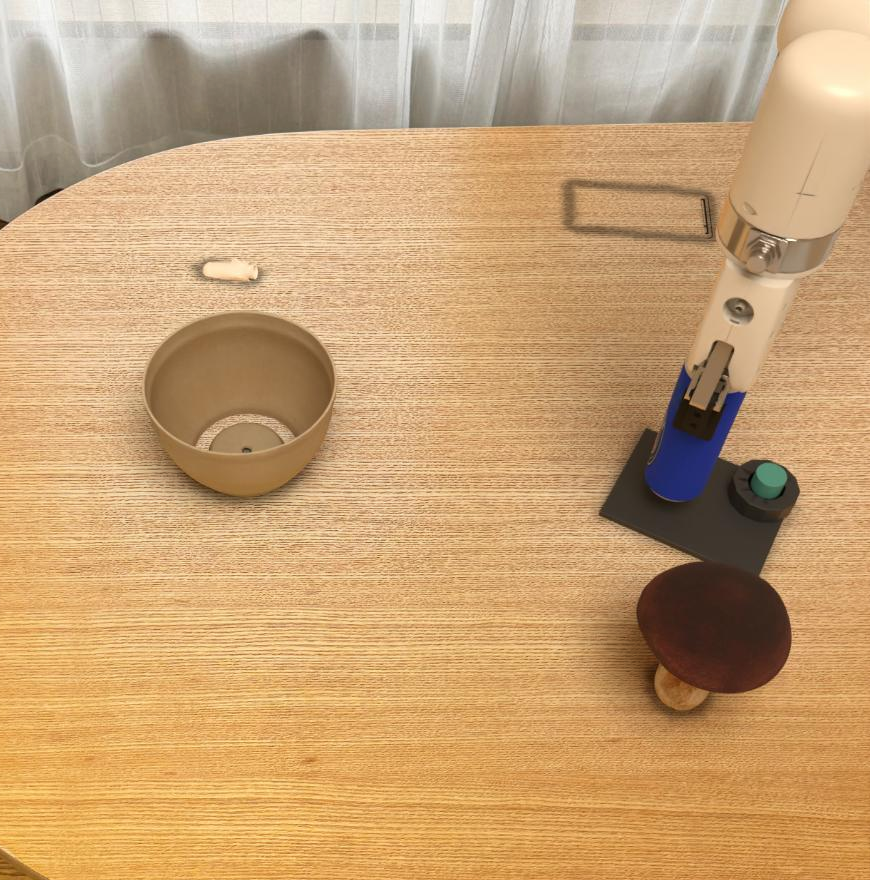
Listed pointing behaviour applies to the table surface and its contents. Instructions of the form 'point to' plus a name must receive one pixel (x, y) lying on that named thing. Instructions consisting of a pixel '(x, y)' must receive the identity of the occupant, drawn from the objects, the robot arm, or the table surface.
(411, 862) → the table surface
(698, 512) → the scale
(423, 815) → the table surface
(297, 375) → the planter bowl
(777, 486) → the button
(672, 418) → the beverage can
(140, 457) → the table surface
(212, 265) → the small white plastic part
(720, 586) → the decorative mushroom
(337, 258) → the table surface
